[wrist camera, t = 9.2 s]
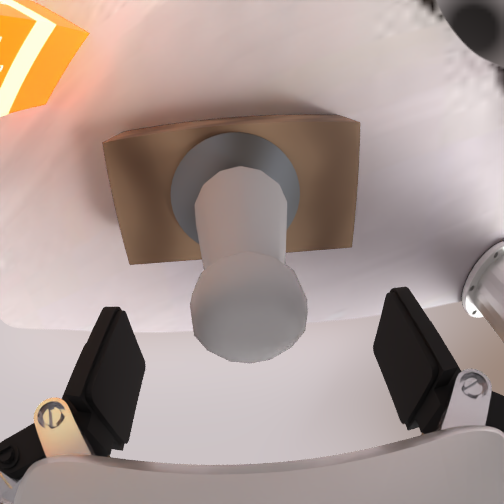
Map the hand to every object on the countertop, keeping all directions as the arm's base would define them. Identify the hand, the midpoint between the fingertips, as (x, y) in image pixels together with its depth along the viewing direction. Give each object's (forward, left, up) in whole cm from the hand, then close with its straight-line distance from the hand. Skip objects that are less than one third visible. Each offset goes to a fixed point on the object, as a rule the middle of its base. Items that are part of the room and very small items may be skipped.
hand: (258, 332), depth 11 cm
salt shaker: (0, 0, -13) cm, 13 cm away
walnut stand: (+1, 0, -18) cm, 18 cm away
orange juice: (+18, -15, -19) cm, 30 cm away
